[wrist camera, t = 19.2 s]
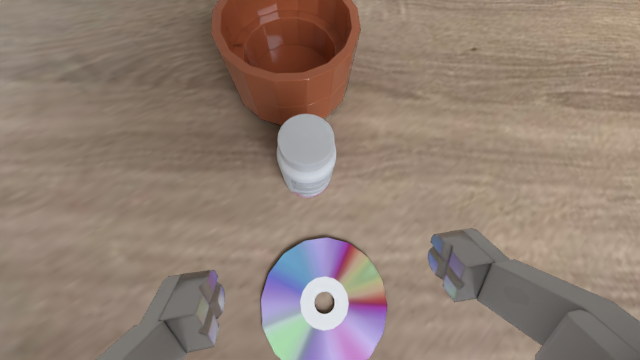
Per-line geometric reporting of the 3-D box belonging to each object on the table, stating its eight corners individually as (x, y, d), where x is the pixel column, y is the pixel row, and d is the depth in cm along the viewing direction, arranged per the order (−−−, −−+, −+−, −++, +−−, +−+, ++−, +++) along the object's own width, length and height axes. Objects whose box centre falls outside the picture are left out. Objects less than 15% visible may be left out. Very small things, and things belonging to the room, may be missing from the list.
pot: (219, 108, 26) (183, 53, 18) (263, 26, 29) (247, -46, 22) (328, 142, 25) (335, 100, 18) (358, 54, 28) (375, -11, 21)
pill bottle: (339, 175, 24) (355, 138, 16) (308, 208, 23) (307, 186, 15) (306, 146, 25) (305, 96, 17) (274, 176, 24) (256, 139, 15)
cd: (386, 384, 19) (386, 384, 19) (250, 372, 19) (249, 372, 18) (387, 243, 22) (387, 243, 22) (271, 232, 22) (270, 232, 22)
